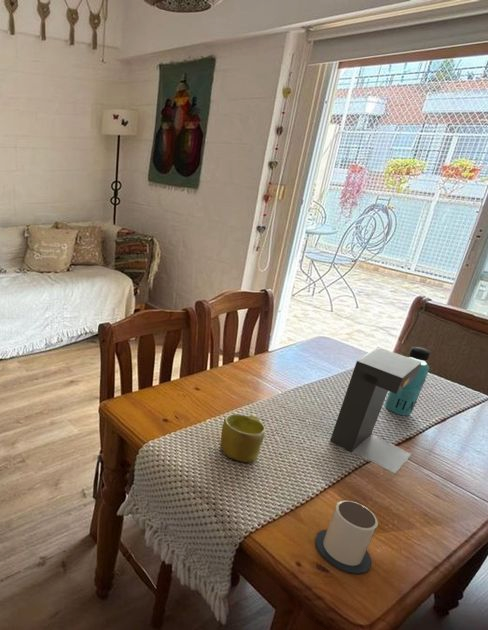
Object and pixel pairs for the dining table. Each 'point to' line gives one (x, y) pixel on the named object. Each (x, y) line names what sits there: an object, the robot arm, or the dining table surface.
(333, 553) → the coffee cup
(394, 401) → the beverage bottle
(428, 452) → the dining table surface
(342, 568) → the coaster
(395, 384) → the coffee maker
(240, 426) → the mug
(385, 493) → the dining table surface
